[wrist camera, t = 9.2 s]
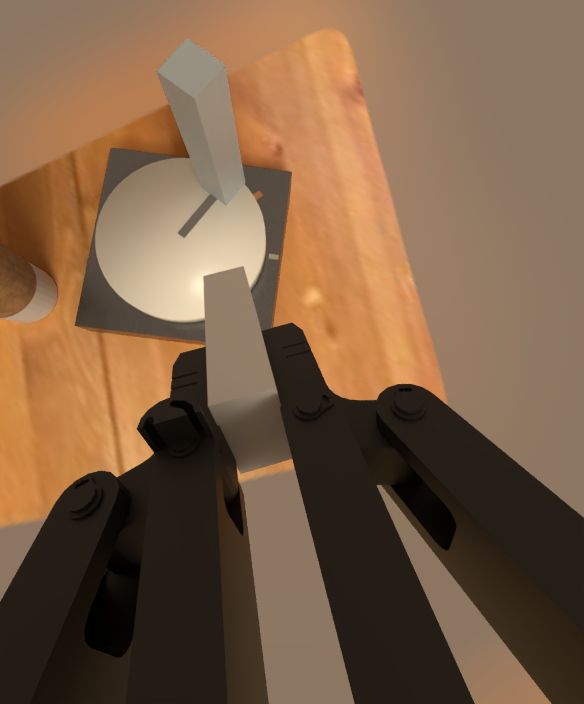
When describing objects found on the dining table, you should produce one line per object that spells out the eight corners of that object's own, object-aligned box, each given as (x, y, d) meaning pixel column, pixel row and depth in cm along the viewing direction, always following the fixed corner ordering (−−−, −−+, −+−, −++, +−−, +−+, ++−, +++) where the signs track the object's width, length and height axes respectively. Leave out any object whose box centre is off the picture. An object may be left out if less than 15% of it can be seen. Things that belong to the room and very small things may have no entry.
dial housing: (91, 331, 36) (73, 325, 33) (124, 166, 38) (110, 146, 35) (269, 353, 36) (268, 349, 33) (290, 188, 39) (291, 170, 35)
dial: (199, 355, 33) (139, 328, 19) (72, 259, 34) (-76, 165, 20) (297, 231, 35) (308, 123, 21) (175, 142, 35) (106, -20, 21)
